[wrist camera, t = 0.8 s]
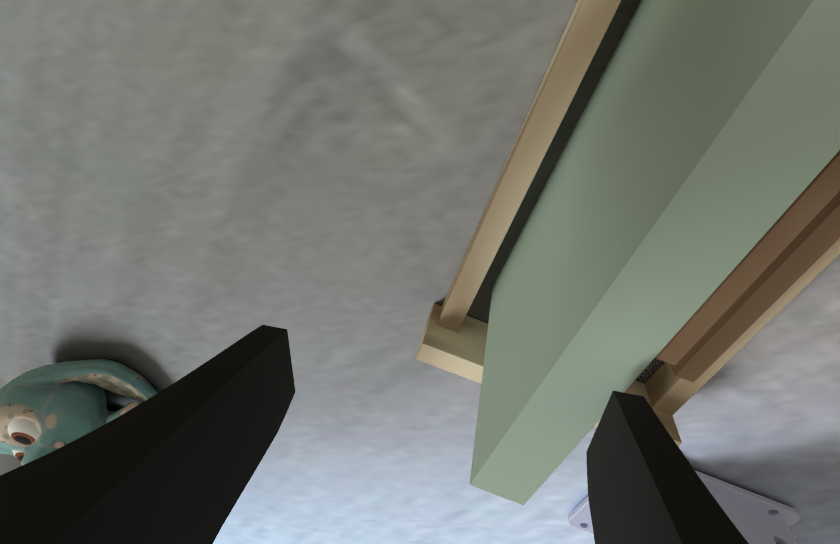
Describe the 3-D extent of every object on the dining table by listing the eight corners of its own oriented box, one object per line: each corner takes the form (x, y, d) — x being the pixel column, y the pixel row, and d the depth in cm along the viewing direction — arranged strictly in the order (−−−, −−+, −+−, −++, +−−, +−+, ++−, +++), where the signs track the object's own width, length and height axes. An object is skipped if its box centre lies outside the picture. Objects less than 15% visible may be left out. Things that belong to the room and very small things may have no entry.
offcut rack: (1124, -86, 11) (1299, -110, 9) (651, 403, 22) (667, 455, 20) (675, -259, 11) (719, -334, 9) (428, 317, 22) (415, 358, 20)
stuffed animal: (152, 541, 31) (-47, 503, 28) (197, 447, 36) (35, 407, 34) (165, 466, 25) (-86, 408, 22) (216, 367, 30) (22, 312, 28)
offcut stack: (914, 59, 13) (1004, 74, 11) (671, 334, 20) (693, 382, 18) (841, 31, 13) (916, 40, 11) (622, 316, 20) (637, 362, 18)
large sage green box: (732, -60, 13) (1117, -164, 4) (524, 299, 21) (523, 505, 12) (681, -80, 13) (970, -220, 4) (492, 287, 21) (469, 484, 12)
